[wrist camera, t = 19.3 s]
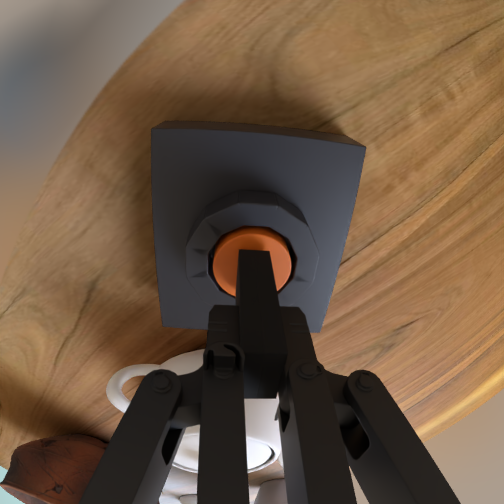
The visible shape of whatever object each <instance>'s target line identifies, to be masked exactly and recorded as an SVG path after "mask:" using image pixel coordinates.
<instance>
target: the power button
mask: <svg viewBox="0 0 504 504" xmlns="http://www.w3.org/2000/svg"><path fill="white" fill-rule="evenodd" d="M239 249H245V250H263V251H270V256H271V261H272V266H273V272H274V277H275V282H276V288H277V291H278V290H279V289H280V288H281V287H282V286H283V285H284V284H285V283H286V281H287V279H288V277H289V275H290V272H291V258H290V255H289V251H288V248H287V244H286V241H285V238H284V237H283V235H281V234H279V233H278V232H276V231H275V230H273V229H271V228H270V227H264V226H247V225H243V226H241V227H239V228H237V229H234V230H232V231H230V232H228V233H225V234H223V235H221V237H220V238H219V239H218V241H217V242H216V245H215V252H214V261H213V272H214V276H215V279H216V281H217V282H218V284H219V285H220V286H221V287H222V288H223V289H224V290H225V291H226V292H227V293H229V294H231V295H233V296H235V292H236V279H237V266H238V253H239Z"/></svg>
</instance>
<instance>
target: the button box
mask: <svg viewBox="0 0 504 504" xmlns="http://www.w3.org/2000/svg"><path fill="white" fill-rule="evenodd" d="M365 151H366V147H365V146H364V145H362V144H360V143H358V142H357V141H355V140H353V139H351V138H350V137H348V136H344V135H338V134H331V133H325V132H318V131H311V130H303V129H295V128H286V127H277V126H267V125H255V124H242V123H226V122H205V121H164V122H162V123H161V124H159V125H157V126H155V127H154V128H152V129H151V181H152V210H153V229H154V245H155V258H156V270H157V281H158V291H159V301H160V310H161V318H162V326H163V327H174V328H188V329H203V330H208V319H209V312H210V310H211V309H212V308H213V306H214V305H215V304H216V305H235V296H233V295H231V294H229V293H227V292H226V291H225V290H224V289H223V288H222V287H221V286H220V285H219V284H218V282H217V281H216V279H215V276H214V272H213V261H214V252H215V245H216V242H217V241H218V239H219V238H220V237H221V235H223V234H225V233H228V232H230V231H232V230H234V229H237V228H239V227H241V226H243V225H247V226H264V227H270V228H271V229H273V230H275V231H276V232H278V233H279V234H281V235H283V237H284V238H285V241H286V244H287V248H288V251H289V255H290V258H291V272H290V275H289V277H288V279H287V281H286V283H285V284H284V285H283V286H282V287H281V288H280V289H279V290H278V291H277V293H278V299H279V304H280V306H289V307H299V308H300V309H301V310H302V311H303V313H304V314H305V316H306V319H307V323H308V327H309V333H318V332H320V331H321V328H322V324H323V321H324V318H325V315H326V311H327V308H328V305H329V301H330V298H331V294H332V291H333V287H334V284H335V280H336V277H337V273H338V269H339V266H340V262H341V258H342V254H343V250H344V247H345V243H346V239H347V235H348V230H349V226H350V222H351V218H352V214H353V209H354V205H355V200H356V196H357V191H358V186H359V182H360V177H361V172H362V167H363V162H364V157H365Z"/></svg>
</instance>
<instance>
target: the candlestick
mask: <svg viewBox="0 0 504 504" xmlns="http://www.w3.org/2000/svg"><path fill="white" fill-rule="evenodd" d="M179 501H180V502H181V503H182V504H197V495H186V496H182V497H180V499H179Z"/></svg>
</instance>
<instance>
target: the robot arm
mask: <svg viewBox="0 0 504 504" xmlns="http://www.w3.org/2000/svg"><path fill="white" fill-rule="evenodd" d="M277 394H278V396H279V404H278V407H277V411H276V414H275V419H274V421H277V420H278V422H279V431H280V440H281V449H282V458H283V467H284V476H285V485H286V494H287V503H288V504H357V501H356V497H355V492H354V487H353V482H352V478H351V473H350V469H349V466H350V468H351V470H352V472H353V474H354V475H355V477H356V479H357V481H358V483H359V485H360V487H361V489H362V490H363V493H364V494H365V496H366V498H367V500H368V502H369V504H461V503H460V502H459V500H458V498H457V497H456V495H455V494H454V492H453V490H452V489H451V487H450V486H449V484H448V482H447V481H446V479H445V478H444V476H443V474H442V473H441V471H440V470H439V468H438V466H437V465H436V463H435V462H434V460H433V459H432V457H431V455H430V454H429V452H428V451H427V449H426V448H425V446H424V445H423V443H422V442H421V440H420V438H419V437H418V435H417V434H416V432H415V431H414V429H413V428H412V426H411V425H410V423H409V422H408V420H407V419H406V417H405V416H404V414H403V413H402V411H401V410H400V408H399V407H398V405H397V404H396V402H395V401H394V399H393V398H392V396H391V395H390V393H389V392H388V390H387V389H386V387H385V386H384V385H383V383H382V382H381V380H380V379H379V378H378V377H377V376H376V375H375V374H374V373H372V372H370V371H366V370H356V371H354V372H353V373H351V374H350V376H349V377H347V376H343V375H338V374H334V373H331V372H329V371H327V370H325V369H324V367H323V365H322V364H320V363H319V362H318V360H317V358H316V354H315V350H314V346H313V342H312V338H311V335H310V333H309V327H308V323H307V319H306V316H305V314H304V313H303V311H302V310H301V309H300V308H299V307H289V306H280V304H279V299H278V293H277V288H276V282H275V277H274V272H273V266H272V261H271V256H270V251H263V250H245V249H239V253H238V266H237V279H236V292H235V305H216V304H215V305H214V306H213V308H212V309H211V310H210V312H209V319H208V331H207V343H206V348H205V350H204V353H203V365H202V366H201V367H200V368H199V369H197V370H196V371H194V372H191V373H188V374H183V375H177V374H176V373H175V372H172V371H170V370H166V369H158V370H153V371H151V372H150V373H148V374H147V375H146V376H145V377H144V378H143V380H142V382H141V384H140V386H139V387H138V389H137V391H136V393H135V395H134V397H133V398H132V400H131V402H130V404H129V406H128V408H127V410H126V412H125V413H124V415H123V417H122V419H121V421H120V423H119V425H118V427H117V428H116V430H115V432H114V434H113V436H112V438H111V440H110V442H109V444H108V446H107V448H106V450H105V452H104V453H103V455H102V457H101V459H100V461H99V463H98V465H97V467H96V469H95V471H94V473H93V475H92V477H91V479H90V481H89V483H88V485H87V487H86V489H85V491H84V493H83V495H82V497H81V499H80V501H79V503H78V504H157V502H158V500H159V497H160V495H161V492H162V489H163V487H164V484H165V482H166V479H167V477H168V474H169V471H170V469H171V466H172V464H173V461H174V458H175V456H176V453H177V451H178V448H179V446H180V443H181V440H182V438H183V435H184V433H185V430H186V428H187V427H191V426H196V425H200V434H199V455H198V481H197V504H250V503H249V485H248V466H247V446H246V425H245V403H244V399H276V397H277Z"/></svg>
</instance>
